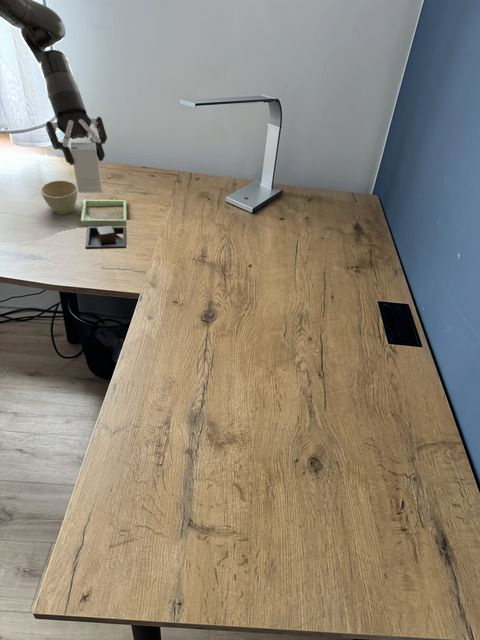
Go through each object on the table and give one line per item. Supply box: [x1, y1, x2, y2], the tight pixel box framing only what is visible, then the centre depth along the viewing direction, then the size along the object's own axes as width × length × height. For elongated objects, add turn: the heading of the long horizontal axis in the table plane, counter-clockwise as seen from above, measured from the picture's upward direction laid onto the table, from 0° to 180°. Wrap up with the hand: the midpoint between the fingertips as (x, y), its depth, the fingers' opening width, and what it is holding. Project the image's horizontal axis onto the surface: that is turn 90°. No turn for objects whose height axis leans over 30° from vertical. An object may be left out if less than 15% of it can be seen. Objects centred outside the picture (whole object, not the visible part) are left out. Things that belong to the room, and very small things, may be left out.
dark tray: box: [84, 226, 128, 250], centre depth 140 cm, size 11×11×3 cm
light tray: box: [80, 199, 128, 228], centre depth 150 cm, size 13×13×3 cm
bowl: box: [40, 180, 78, 215], centre depth 149 cm, size 10×10×7 cm
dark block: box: [97, 226, 116, 245], centre depth 139 cm, size 4×4×4 cm
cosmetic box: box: [70, 141, 103, 194], centre depth 130 cm, size 6×4×12 cm
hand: (87, 161), depth 127 cm, fingers closed on cosmetic box, 7 cm apart
